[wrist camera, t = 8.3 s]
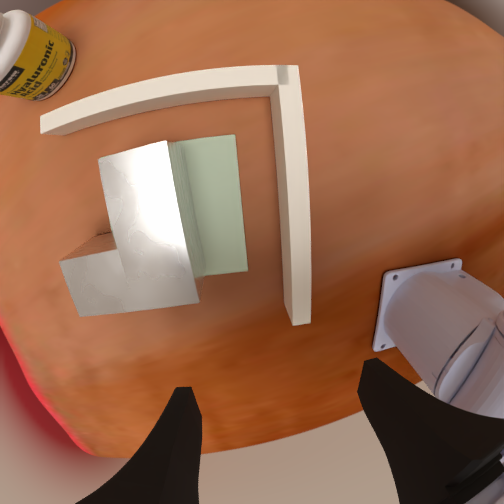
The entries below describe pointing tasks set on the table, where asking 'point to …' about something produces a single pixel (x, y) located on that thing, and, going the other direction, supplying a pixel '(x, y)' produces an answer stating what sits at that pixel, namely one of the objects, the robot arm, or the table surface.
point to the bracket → (141, 237)
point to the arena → (285, 141)
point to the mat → (217, 202)
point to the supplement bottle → (32, 57)
